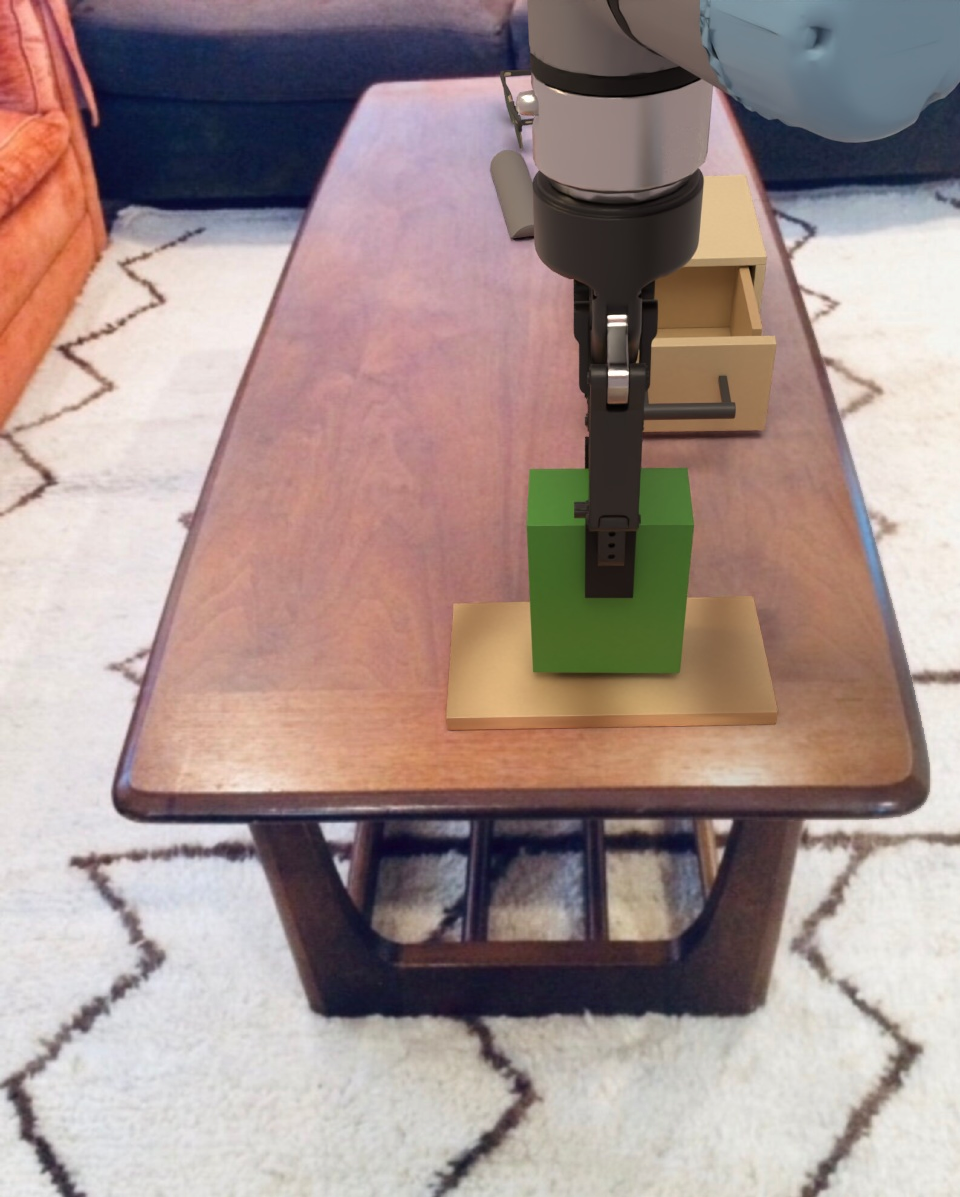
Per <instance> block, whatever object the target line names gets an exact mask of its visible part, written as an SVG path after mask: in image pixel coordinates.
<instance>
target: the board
mask: <svg viewBox="0 0 960 1197" xmlns="http://www.w3.org/2000/svg"><path fill="white" fill-rule="evenodd" d="M756 606H757V605H756V601H755V597H754V595H737V596H736V595H735V596H734V595H732V596H697V597H695V596H693V597H687V605H686V615H685V625H684V636H683V646H682V656H681V666H680V673H556V672H533V664H532V641H531V618H530V601H500V602H499V601H496V602H495V601H494V602H493V601H492V602H460V603H459V602H455V603H453V607H452V621H451V623H452V624H451V637H450V651H449V652H450V653H449V667H448V681H447V682H448V683H447V697H446V714H445V719H446V720H445V721H446V728H447V731H468V730H471V731H472V730H476V731H477V730H522V729H524V730H527V729H528V730H529V729H575V728H576V729H579V728H583V729H584V728H586V729H587V728H634V727H635V728H637V727H638V728H639V727H640V728H641V727H642V728H645V727H646V728H647V727H689V726H690V727H692V726H695V727H697V726H699V727H700V726H748V725H749V726H751V725H757V726H759V725H776V724H777V721H778V713H779V709H778V704H777V700H776V695H775V690H774V686H773V681H772V677H771V672H770V667H769V663H768V658H767V653H766V649H765V644H764V639H763V634H762V630H761V626H760V621H759V620H760V619H759V616H758V615H759V614H758V611H757V607H756Z"/></svg>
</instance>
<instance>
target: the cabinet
mask: <svg viewBox="0 0 960 1197" xmlns="http://www.w3.org/2000/svg"><path fill="white" fill-rule="evenodd" d="M703 177H704V187H703V199H702V211H701V223H700V235H699V244H698V247H697V250H696V252H695V254H694V255H693V257H692V258H691V259H690V261H689V262H688V263H687V264H686V265H684V266H683V267H708V266H744V265H748V266H749V271H750V275H751V279H752V284H753V288H754V292H755V297H756V301H757V305H758V310H759V314H760V315H761V308H762V299H763V292H764V286H765V279H766V278H765V276H766V269H767V261H768V255H767V252H766V247H765V243H764V240H763V236H762V232H761V229H760V225H759V224H760V223H759V219H758V216H757V212H756V209H755V208H756V207H755V204H754V200H753V197H752V193H751V189H750V185H749V181H748V177H747V175H746V174H726V175H724V174H723V175H703Z"/></svg>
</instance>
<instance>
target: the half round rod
mask: <svg viewBox="0 0 960 1197" xmlns="http://www.w3.org/2000/svg"><path fill="white" fill-rule="evenodd" d="M489 170H490V174H491V178H492V180H493V184H494V187H495V190H496V194H497V197H498V200H499V204H500V207H501V211H502V214H503V218H504V220H505V221H504V222H505V224H506V227H507V231H508V235H509V237H510V238H511V239H519V238H528V237H534V213H533V179H532V176H531V173H530V170H529V168H528V164H527V163H526V160H525V158H524V156H522V154H521V153H519V152H518V151H517V150H513V149H505V150H501V151H500V152H497V153H496V154H495V155H494V156H493V157H492V160H491V161H490V168H489Z"/></svg>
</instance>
